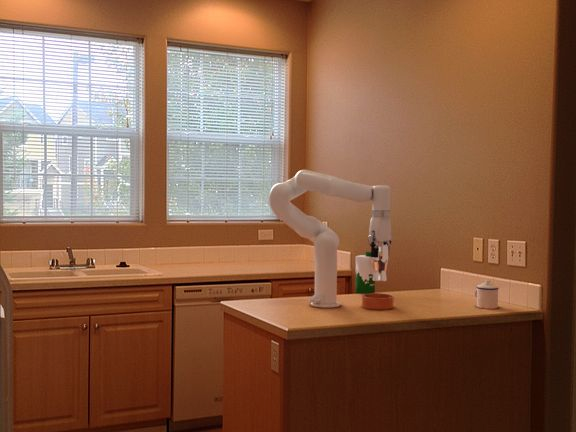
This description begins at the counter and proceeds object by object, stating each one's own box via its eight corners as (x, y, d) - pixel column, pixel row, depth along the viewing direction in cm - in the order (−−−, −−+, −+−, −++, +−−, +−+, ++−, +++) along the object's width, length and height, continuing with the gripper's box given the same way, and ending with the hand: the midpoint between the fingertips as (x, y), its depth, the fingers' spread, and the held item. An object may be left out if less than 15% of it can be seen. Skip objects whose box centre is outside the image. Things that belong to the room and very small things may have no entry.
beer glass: (383, 282, 273) (384, 246, 273) (368, 280, 277) (369, 245, 276) (390, 280, 279) (391, 245, 279) (375, 278, 283) (376, 244, 282)
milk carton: (370, 295, 312) (370, 253, 311) (352, 293, 317) (353, 251, 316) (377, 292, 320) (378, 251, 319) (360, 291, 324) (360, 250, 323)
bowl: (380, 311, 270) (380, 299, 270) (355, 307, 279) (355, 295, 279) (399, 307, 279) (399, 296, 279) (374, 303, 288) (374, 292, 288)
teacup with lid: (502, 308, 280) (503, 281, 280) (486, 309, 276) (487, 282, 276) (482, 303, 291) (483, 277, 290) (466, 305, 287) (467, 278, 286)
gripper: (386, 214, 286) (385, 254, 286) (361, 214, 273) (360, 257, 274) (400, 214, 280) (399, 256, 281) (375, 215, 268) (374, 258, 269)
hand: (380, 256), depth 278 cm, fingers closed on beer glass, 7 cm apart
